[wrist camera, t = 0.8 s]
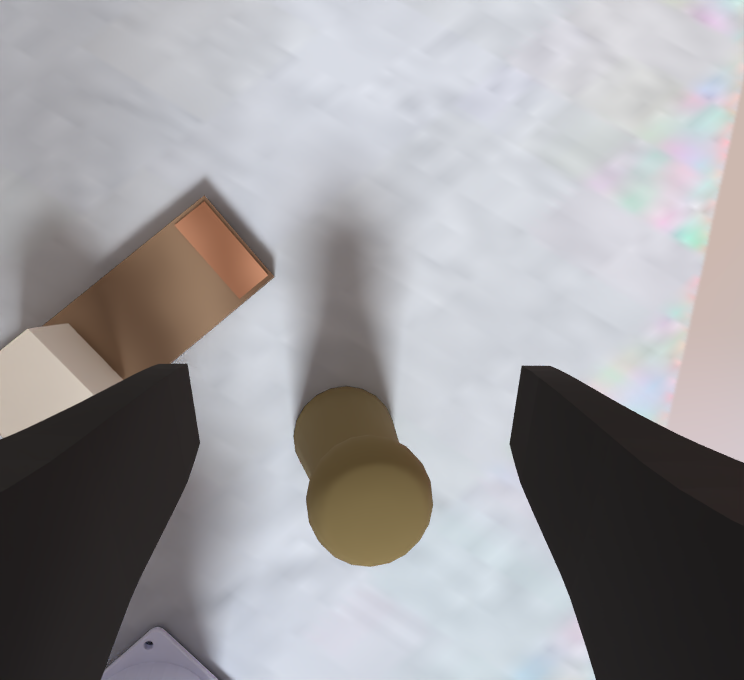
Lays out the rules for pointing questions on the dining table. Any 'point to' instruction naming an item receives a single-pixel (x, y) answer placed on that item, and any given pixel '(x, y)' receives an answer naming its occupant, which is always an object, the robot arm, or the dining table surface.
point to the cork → (360, 478)
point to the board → (167, 292)
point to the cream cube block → (48, 375)
